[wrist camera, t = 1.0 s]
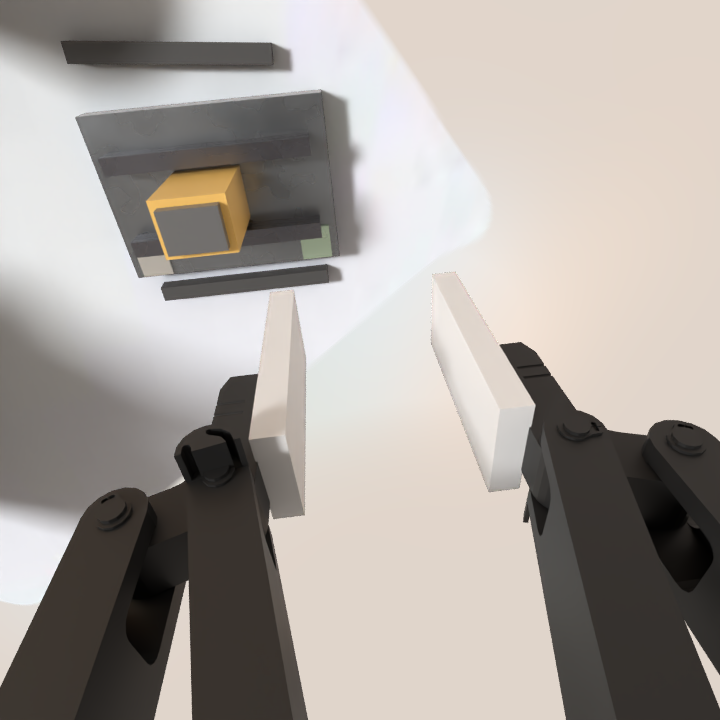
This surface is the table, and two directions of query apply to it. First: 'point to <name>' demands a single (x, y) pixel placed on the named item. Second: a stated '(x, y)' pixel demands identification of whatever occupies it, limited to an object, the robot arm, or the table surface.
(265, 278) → the dark grey long bar
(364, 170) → the table surface
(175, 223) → the toggle
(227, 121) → the panel
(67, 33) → the table surface
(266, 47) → the bar
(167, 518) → the robot arm
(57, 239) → the table surface
